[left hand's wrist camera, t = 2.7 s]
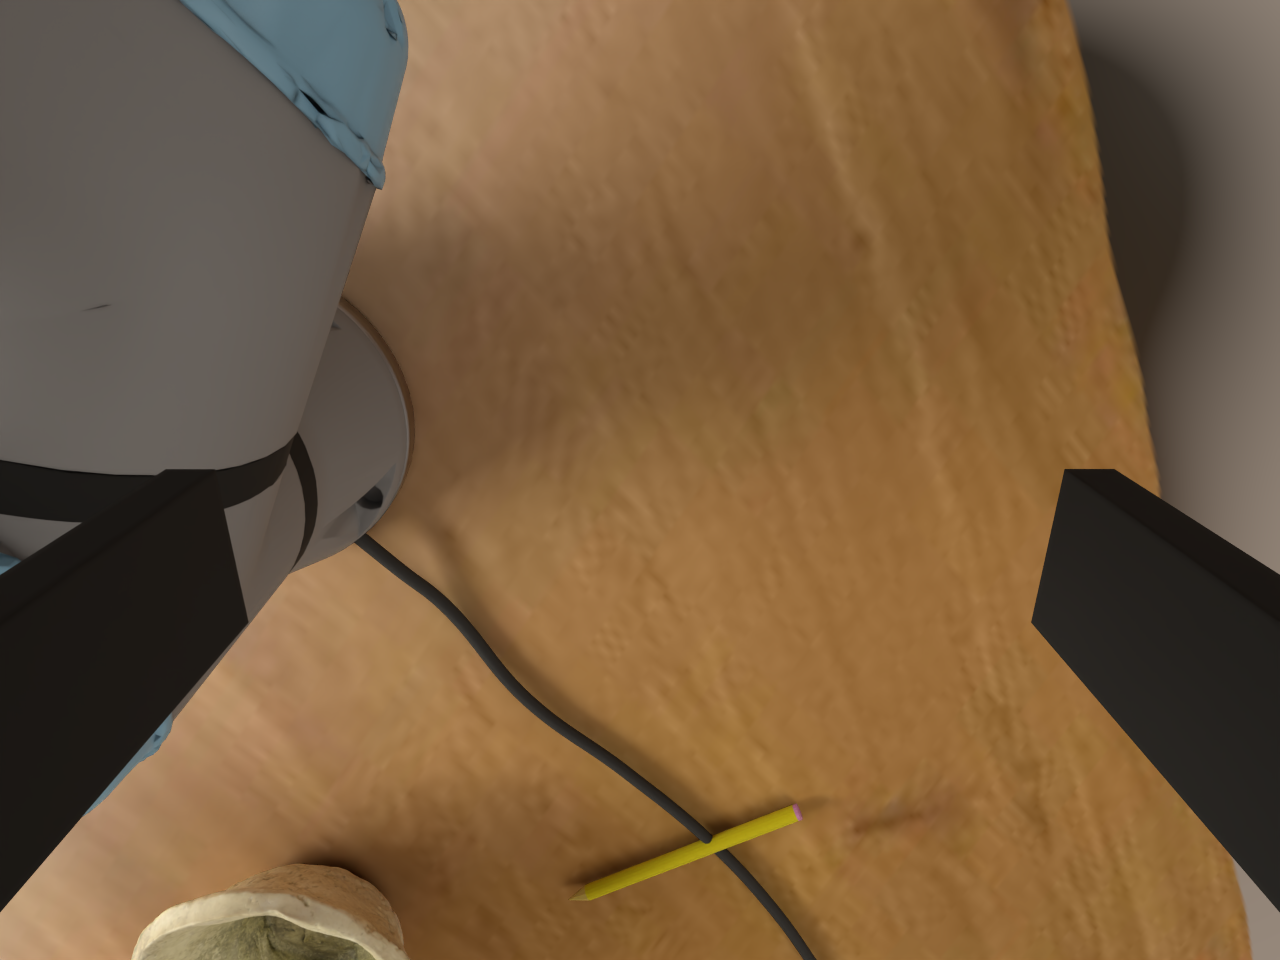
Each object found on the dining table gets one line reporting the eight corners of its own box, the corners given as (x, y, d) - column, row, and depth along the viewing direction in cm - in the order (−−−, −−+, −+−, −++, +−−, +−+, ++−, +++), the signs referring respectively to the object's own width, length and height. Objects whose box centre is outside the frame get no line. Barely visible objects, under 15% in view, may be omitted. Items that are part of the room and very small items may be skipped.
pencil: (794, 799, 49) (797, 812, 48) (800, 810, 50) (803, 822, 49) (565, 888, 52) (564, 901, 51) (572, 898, 52) (571, 911, 51)
